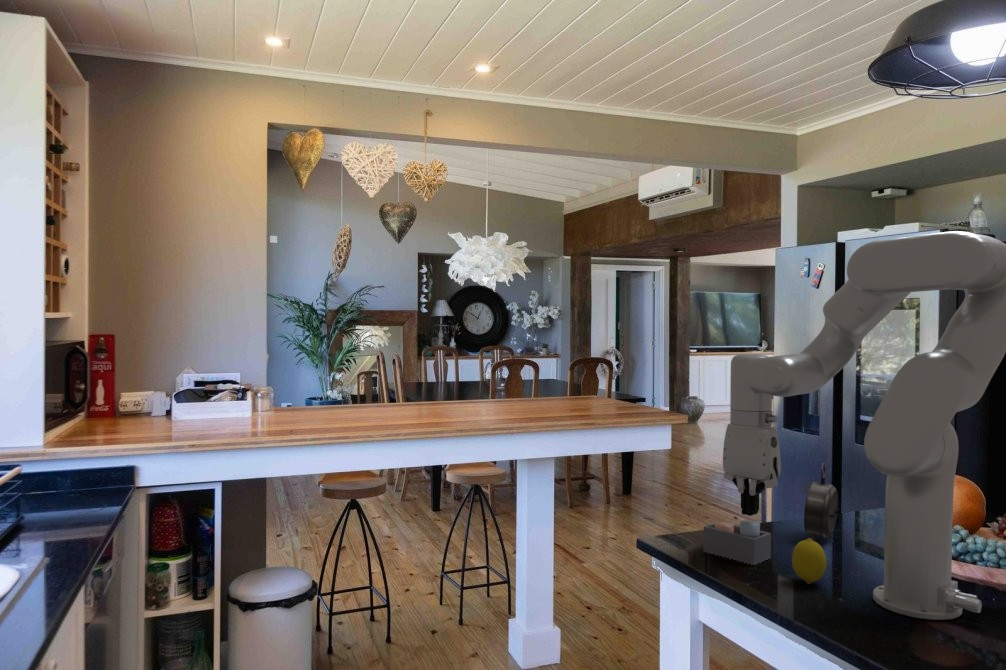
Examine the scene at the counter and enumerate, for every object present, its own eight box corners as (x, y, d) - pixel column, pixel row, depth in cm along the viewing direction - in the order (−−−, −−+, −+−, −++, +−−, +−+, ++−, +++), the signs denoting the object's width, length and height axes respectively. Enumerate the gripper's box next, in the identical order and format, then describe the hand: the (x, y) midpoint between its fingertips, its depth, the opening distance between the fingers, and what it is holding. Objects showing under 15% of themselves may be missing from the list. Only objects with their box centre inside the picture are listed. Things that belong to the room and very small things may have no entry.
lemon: (829, 590, 125) (829, 544, 125) (794, 588, 126) (795, 542, 126) (821, 579, 130) (822, 534, 130) (788, 577, 131) (789, 532, 131)
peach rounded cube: (737, 544, 145) (737, 524, 145) (727, 548, 143) (727, 528, 143) (721, 540, 148) (721, 520, 148) (710, 544, 145) (711, 524, 145)
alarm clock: (814, 532, 159) (815, 457, 158) (841, 536, 156) (842, 460, 155) (801, 545, 150) (802, 466, 149) (830, 550, 147) (831, 469, 146)
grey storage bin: (770, 559, 141) (771, 533, 141) (754, 566, 137) (754, 539, 137) (720, 545, 149) (720, 521, 149) (703, 551, 145) (703, 526, 145)
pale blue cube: (763, 543, 141) (763, 523, 141) (753, 547, 138) (753, 526, 138) (746, 539, 144) (746, 519, 143) (736, 543, 141) (736, 522, 141)
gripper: (797, 421, 137) (796, 518, 138) (727, 413, 149) (726, 503, 149) (777, 425, 132) (776, 526, 133) (705, 416, 144) (705, 509, 144)
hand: (749, 513), depth 141 cm, fingers closed
